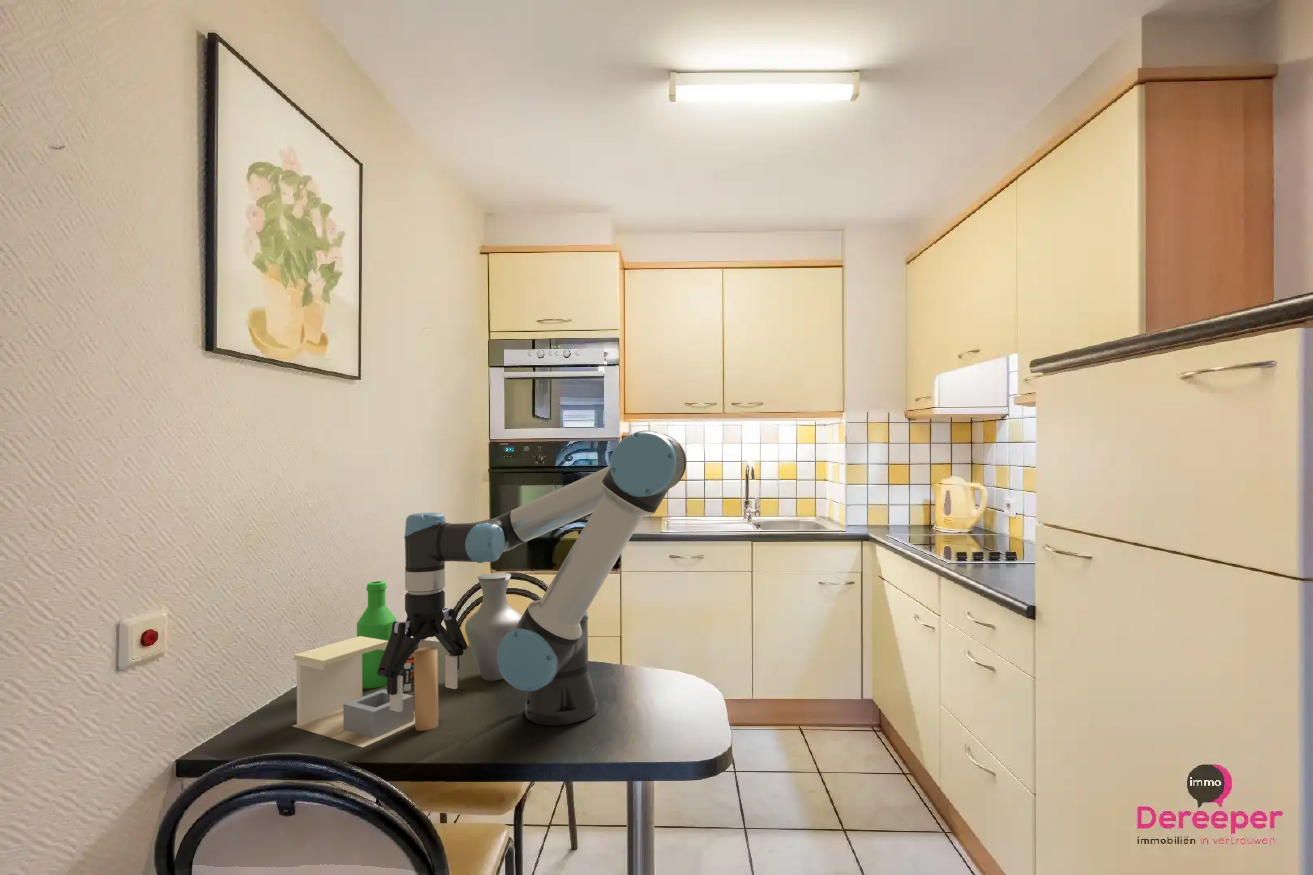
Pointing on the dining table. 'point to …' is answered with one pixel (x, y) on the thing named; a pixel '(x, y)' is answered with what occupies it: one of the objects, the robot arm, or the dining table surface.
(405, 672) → the supplement bottle
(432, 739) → the dining table surface
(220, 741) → the dining table surface
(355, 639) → the cream shelf stand
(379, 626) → the bottle
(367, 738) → the board
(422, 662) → the peg
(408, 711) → the socket
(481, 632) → the vase
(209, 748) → the dining table surface
